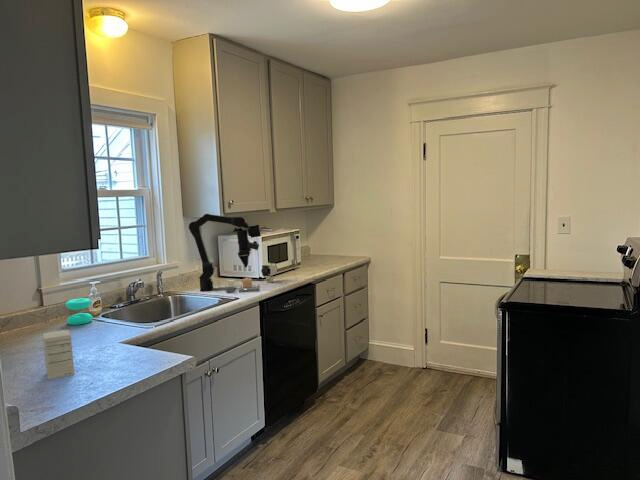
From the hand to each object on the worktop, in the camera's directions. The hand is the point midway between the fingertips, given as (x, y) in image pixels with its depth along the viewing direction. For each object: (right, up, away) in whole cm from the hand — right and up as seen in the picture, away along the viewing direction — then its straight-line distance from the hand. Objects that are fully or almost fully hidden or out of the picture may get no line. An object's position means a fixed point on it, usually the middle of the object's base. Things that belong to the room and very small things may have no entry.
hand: (246, 265), depth 269 cm
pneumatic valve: (+12, -11, +15) cm, 22 cm away
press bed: (+2, -13, -7) cm, 15 cm away
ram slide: (-9, -12, 0) cm, 14 cm away
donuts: (-63, -21, -63) cm, 91 cm away
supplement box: (-38, -26, -124) cm, 133 cm away
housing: (0, -13, +1) cm, 13 cm away
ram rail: (-8, -13, -5) cm, 16 cm away
